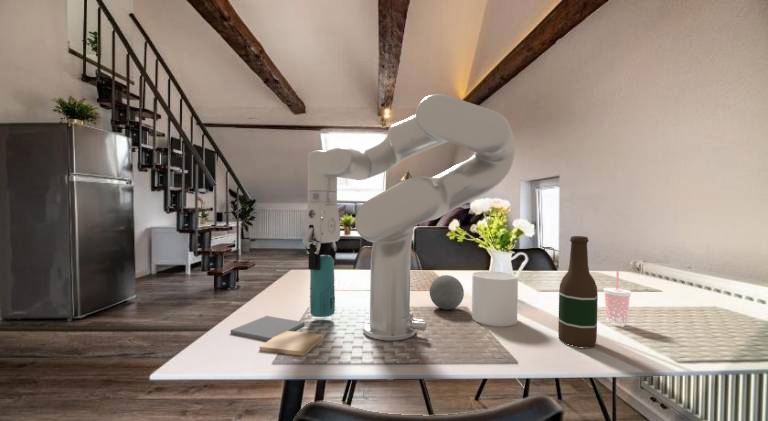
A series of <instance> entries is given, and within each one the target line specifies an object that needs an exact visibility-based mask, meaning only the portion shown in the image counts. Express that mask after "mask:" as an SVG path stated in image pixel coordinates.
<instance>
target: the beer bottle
mask: <svg viewBox="0 0 768 421" xmlns="http://www.w3.org/2000/svg"><path fill="white" fill-rule="evenodd" d="M569 241H570V242H571V243H570V252H569V253H570V254H569V265H568V270H567V272H566V273H565V274H564V276H563V277H562V279H561V281H560V284H559V290H558V340H559V339H560V340H561V341H563V342H564V343H563V342H562V343H563V344H565V343H566V344H569V345H573V346H577V347H593V348H594V347H595V345H596V344H595V343H597V337H598V299H599V298H598V296H599V295H598V286H597V284H596V280H595V279H594V277H593V275H592V274H591V273H590V269H589V268H590V267H589V256H588V255H589V253H588V242H589V238H588V237H587V236H582V235H572V236H570V239H569ZM560 340H559V341H560ZM561 341H560V342H561ZM566 344H565V345H566ZM569 345H568V346H569ZM573 346H572V347H573ZM577 347H576V348H577Z"/></svg>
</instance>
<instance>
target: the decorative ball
mask: <svg viewBox="0 0 768 421" xmlns="http://www.w3.org/2000/svg"><path fill="white" fill-rule="evenodd" d="M464 295H465V291H464V287H463V285H462V283H461V281H459V279H458V278H456V277H455V276H454V275H453V276H452V275H449V274H445V275H443V274H442V275H440V276H438V277H436V278H435V279H434V280H433V281H432V282H431V285H430V287H429V298H430V299H431V301H432V303H433V304H434V305H435V306H436V307H437V308H439V309H441V310H445V311H446V310H447V311H448V310H454V309H456V308H457V307H459V306H460V304H462V301H463V299H464V297H465V296H464Z"/></svg>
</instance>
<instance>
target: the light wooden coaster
mask: <svg viewBox="0 0 768 421" xmlns="http://www.w3.org/2000/svg"><path fill="white" fill-rule="evenodd" d="M324 338H325V334H323V333H322V334H321V333H313V332H305V331H304V332H303V331H295V330H294V331H285V332H283V333H281V334H278V335H276V336H275V337H273V338H272V339H270V340H269V341H265V343H263V344H261V345H259V351H260V352H268V353H277V354H286V355H295V356H303V357H304V356H307V354H308V353H309V352H311V350H313V348H315V347H316V346H317V345H318V344H319V343H320V342H321V341H322V340H324Z"/></svg>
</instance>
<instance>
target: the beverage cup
mask: <svg viewBox="0 0 768 421" xmlns="http://www.w3.org/2000/svg"><path fill="white" fill-rule="evenodd" d="M619 274H620V273H619V271H618V270H617V271H616V277H615V278H616V282H615V287H604V288H603V293H604V304H605V321H606V320H607V321H608V322H611V323H615V324H627V325H628V319H629V308H630V297H631V296H632V291H631V290H628V289H626V288H625V289H623V288H619V282H620V281H619V279H620V278H619Z"/></svg>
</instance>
